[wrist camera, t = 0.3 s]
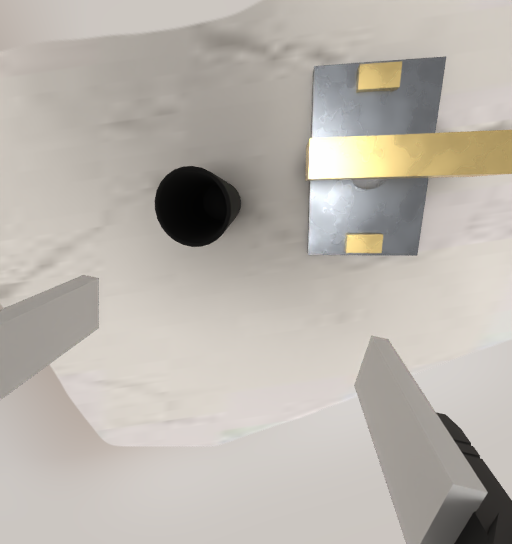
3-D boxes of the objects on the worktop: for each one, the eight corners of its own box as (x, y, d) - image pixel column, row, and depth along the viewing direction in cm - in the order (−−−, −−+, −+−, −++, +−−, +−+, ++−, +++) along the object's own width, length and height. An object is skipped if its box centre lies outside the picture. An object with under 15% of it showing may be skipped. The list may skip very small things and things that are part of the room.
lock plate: (313, 70, 33) (318, 45, 27) (440, 61, 31) (474, 32, 25) (307, 252, 39) (310, 263, 33) (413, 253, 37) (435, 264, 32)
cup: (253, 179, 37) (237, 175, 26) (243, 235, 39) (224, 254, 28) (197, 168, 37) (157, 158, 26) (191, 224, 40) (151, 238, 28)
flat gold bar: (305, 149, 29) (309, 138, 23) (468, 143, 28) (522, 129, 21) (304, 181, 30) (308, 178, 24) (462, 177, 28) (511, 173, 22)
